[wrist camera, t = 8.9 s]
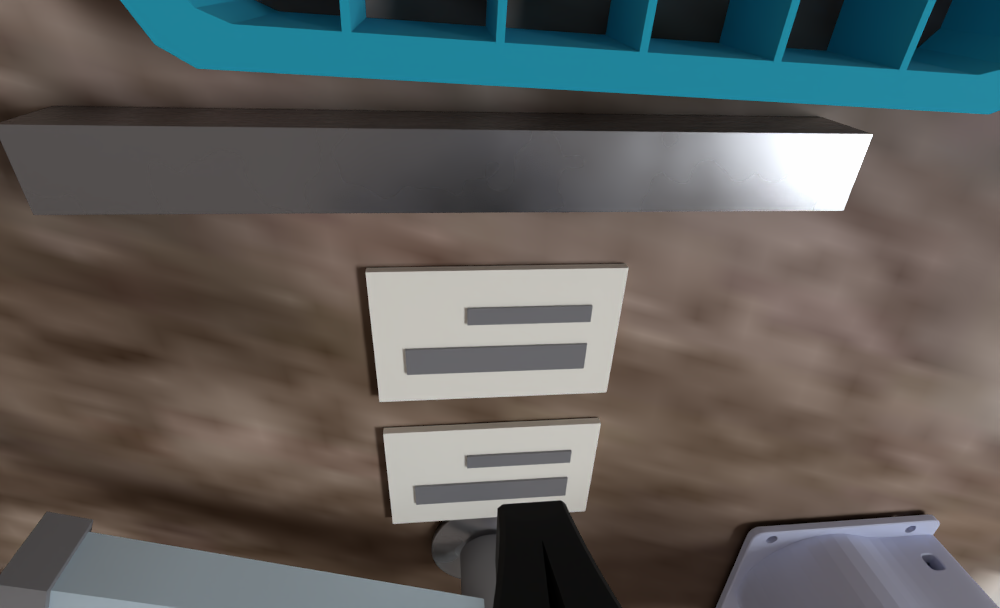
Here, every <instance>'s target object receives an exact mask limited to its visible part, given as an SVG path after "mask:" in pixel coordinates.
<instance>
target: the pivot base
mask: <svg viewBox="0 0 1000 608" xmlns="http://www.w3.org/2000/svg"><path fill="white" fill-rule="evenodd" d="M496 531H497V517H490V518H475V519H460V520H445V521H443V522H442V523H441V524H440V526H439V527H438V528H437V530H436V531H435V533H434V535H433V539H432V556H433V559H434V561H435V563H436V564H437V566H438V567H439V568H440V569H442V570H443V571H444V572H446V573H447V574H449V575H451V576H453V577H456V578H459V579H461V568H460V553H461V550H462V548H463V547H464V546H465V545H466V544H467V543H468V542H470V541H471V540H473V539H475V538H478V537H480V536H484V535H492V534H496Z"/></svg>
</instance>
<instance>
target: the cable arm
mask: <svg viewBox="0 0 1000 608" xmlns="http://www.w3.org/2000/svg"><path fill="white" fill-rule="evenodd" d="M92 523H93V520H92V519H86V518H81V517H75V516H69V515H63V514H58V513H52V512H46V513H45V515H44V516H43V517H42V519H41V520H40V521H39V523H38V524H37V525H36V527H35V528H34V529H33V531H32V532H31V534H30V535H29V536H28V538H27V539H26V540H25V542H24V543H23V544H22V546H21V547H20V548H19V550H18V551H17V552H16V554H15V555H14V556H13V558H12V559H11V560H10V562H9V563H8V564H7V566H6V567H5V568H4V570H3V571H2V572H1V574H0V608H493V602H494V595H495V587H496V567H495V554H496V534H492V535H484V536H480V537H478V538H475V539H473V540H471V541H470V542H468V543H467V544H466V545H465V546H464V547H463V548H462V550H461V553H460V568H461V592H462V595H459V594H453V593H447V592H441V591H435V590H429V589H424V588H418V587H412V586H406V585H400V584H394V583H388V582H382V581H376V580H370V579H365V578H359V577H353V576H347V575H341V574H335V573H329V572H323V571H317V570H311V569H306V568H300V567H294V566H288V565H282V564H276V563H270V562H264V561H258V560H252V559H247V558H241V557H235V556H229V555H223V554H217V553H211V552H205V551H199V550H193V549H188V548H182V547H176V546H170V545H164V544H158V543H152V542H146V541H140V540H134V539H129V538H123V537H117V536H111V535H105V534H99V533H93V532H91V530H92Z"/></svg>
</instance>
